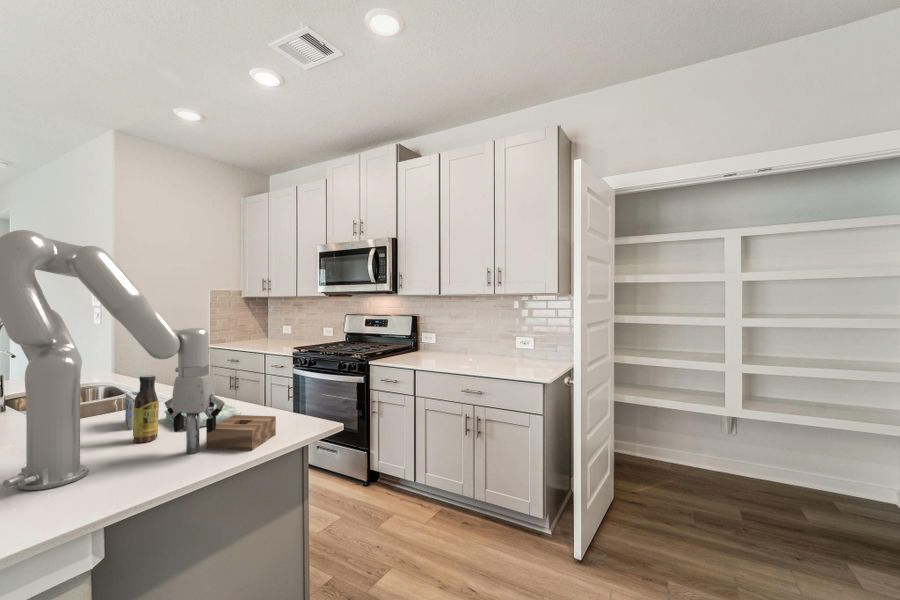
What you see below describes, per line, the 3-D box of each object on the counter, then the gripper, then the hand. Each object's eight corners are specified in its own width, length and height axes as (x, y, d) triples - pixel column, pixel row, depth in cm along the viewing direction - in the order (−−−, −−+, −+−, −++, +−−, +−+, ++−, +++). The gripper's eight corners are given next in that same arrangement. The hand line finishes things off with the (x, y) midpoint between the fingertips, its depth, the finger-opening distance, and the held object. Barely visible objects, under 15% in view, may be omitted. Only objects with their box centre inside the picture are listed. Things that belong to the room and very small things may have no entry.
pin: (194, 454, 118) (194, 412, 118) (183, 454, 119) (183, 411, 118) (201, 450, 122) (202, 409, 121) (191, 449, 122) (191, 408, 122)
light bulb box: (124, 423, 146) (124, 392, 146) (148, 419, 151) (148, 389, 151) (131, 430, 138) (131, 398, 138) (155, 426, 143) (155, 394, 143)
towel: (214, 410, 165) (214, 397, 165) (242, 420, 152) (242, 406, 152) (161, 421, 150) (162, 406, 150) (187, 433, 138) (187, 417, 138)
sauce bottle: (144, 444, 126) (145, 378, 126) (127, 442, 127) (127, 377, 127) (163, 437, 132) (164, 374, 132) (147, 435, 133) (147, 373, 133)
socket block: (252, 450, 122) (252, 430, 122) (206, 448, 123) (206, 428, 123) (275, 434, 136) (275, 416, 136) (234, 433, 137) (234, 414, 137)
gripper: (155, 373, 117) (156, 434, 117) (214, 374, 116) (215, 436, 116) (174, 368, 124) (175, 426, 125) (230, 369, 123) (231, 427, 123)
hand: (195, 430), depth 120 cm, fingers open, 9 cm apart
